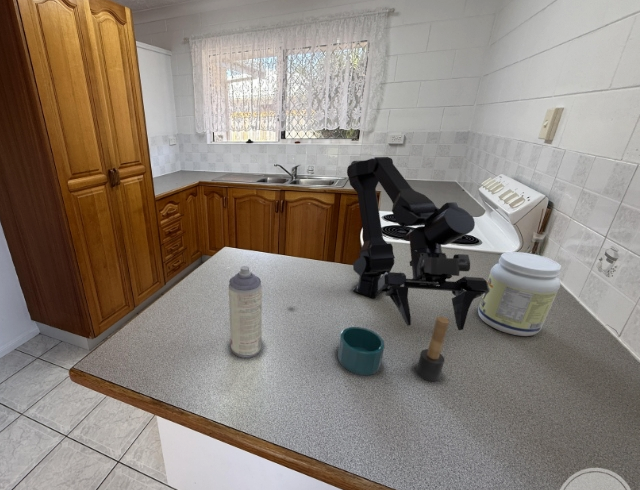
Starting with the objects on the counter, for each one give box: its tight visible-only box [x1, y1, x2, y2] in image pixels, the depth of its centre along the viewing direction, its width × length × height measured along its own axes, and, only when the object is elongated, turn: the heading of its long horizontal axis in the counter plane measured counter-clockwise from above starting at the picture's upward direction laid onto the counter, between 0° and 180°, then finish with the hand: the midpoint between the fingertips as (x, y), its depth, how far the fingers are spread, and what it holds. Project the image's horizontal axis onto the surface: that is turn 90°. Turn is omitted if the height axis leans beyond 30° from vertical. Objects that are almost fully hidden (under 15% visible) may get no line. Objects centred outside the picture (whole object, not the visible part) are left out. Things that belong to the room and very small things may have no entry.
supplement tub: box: [477, 251, 562, 337], centre depth 74 cm, size 12×12×17 cm
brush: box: [415, 316, 450, 382], centre depth 60 cm, size 4×4×13 cm
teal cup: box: [337, 326, 385, 376], centre depth 65 cm, size 8×8×6 cm
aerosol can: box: [228, 265, 263, 359], centre depth 66 cm, size 7×7×20 cm
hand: (434, 327), depth 60 cm, fingers open, 9 cm apart
